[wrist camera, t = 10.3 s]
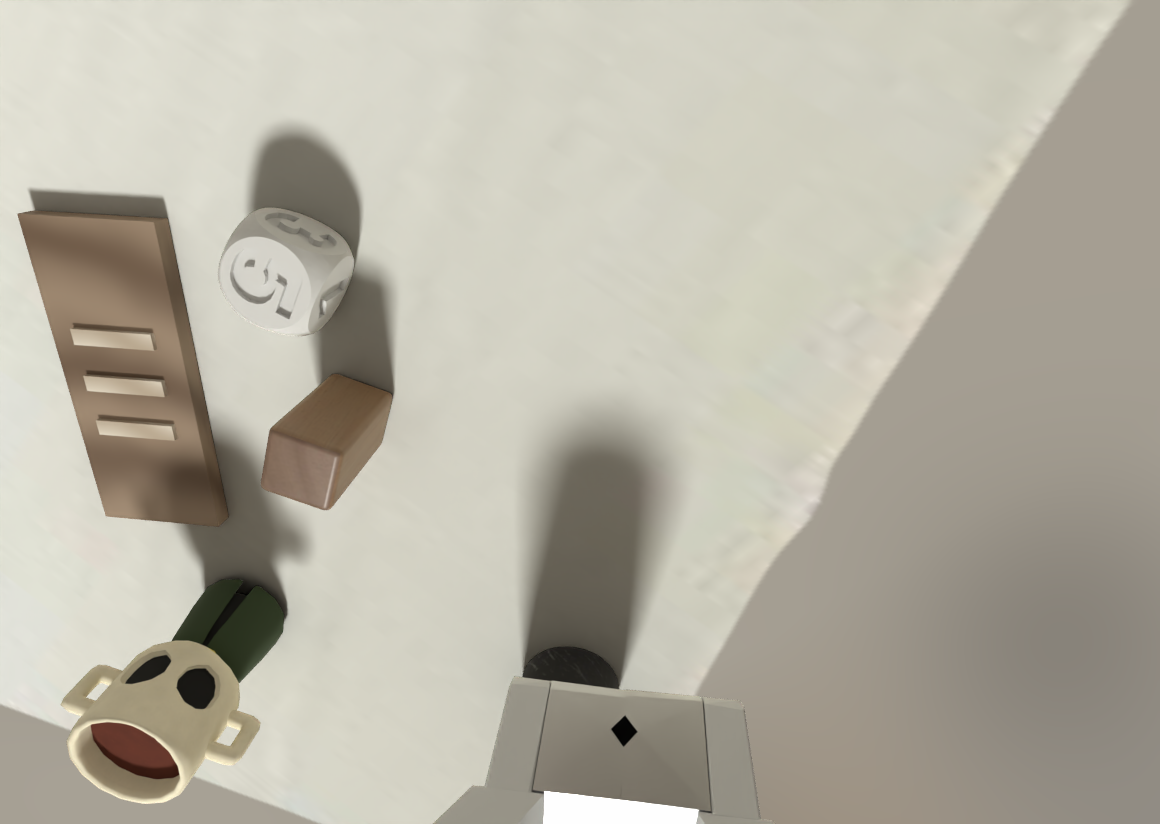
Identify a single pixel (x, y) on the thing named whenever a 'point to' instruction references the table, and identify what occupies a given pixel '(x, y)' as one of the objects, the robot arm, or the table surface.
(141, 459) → the board
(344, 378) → the wooden block
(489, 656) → the table surface
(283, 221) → the die
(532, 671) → the travel mug
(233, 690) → the character mug
